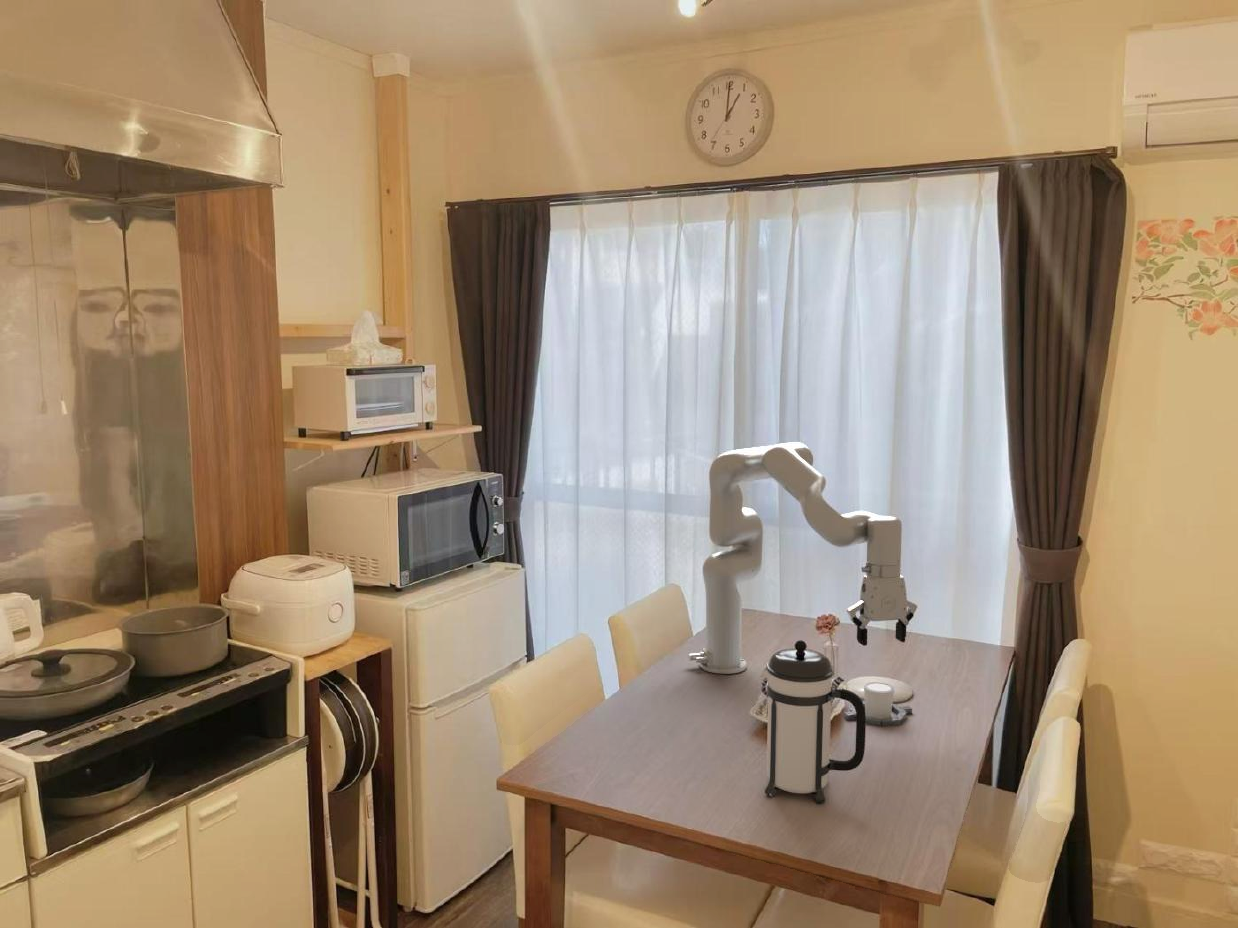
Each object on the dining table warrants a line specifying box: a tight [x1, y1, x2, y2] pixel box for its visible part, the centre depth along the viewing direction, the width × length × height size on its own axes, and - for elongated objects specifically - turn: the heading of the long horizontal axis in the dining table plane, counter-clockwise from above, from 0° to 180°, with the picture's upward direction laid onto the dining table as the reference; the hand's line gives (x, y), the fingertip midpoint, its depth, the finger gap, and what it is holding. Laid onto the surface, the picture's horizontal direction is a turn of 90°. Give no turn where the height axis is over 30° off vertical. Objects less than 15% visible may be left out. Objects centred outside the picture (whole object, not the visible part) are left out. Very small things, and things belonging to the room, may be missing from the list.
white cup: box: [864, 682, 894, 719], centre depth 218 cm, size 7×7×7 cm
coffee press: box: [759, 640, 867, 805], centre depth 182 cm, size 17×16×30 cm
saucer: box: [846, 675, 913, 704], centre depth 234 cm, size 16×16×1 cm
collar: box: [843, 700, 913, 727], centre depth 219 cm, size 17×12×1 cm
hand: (881, 642), depth 216 cm, fingers open, 9 cm apart
